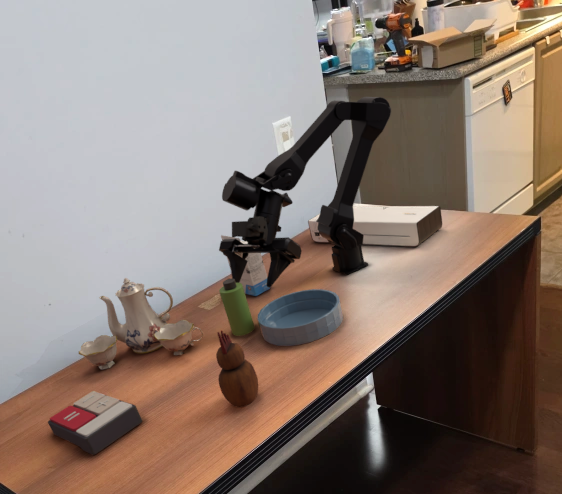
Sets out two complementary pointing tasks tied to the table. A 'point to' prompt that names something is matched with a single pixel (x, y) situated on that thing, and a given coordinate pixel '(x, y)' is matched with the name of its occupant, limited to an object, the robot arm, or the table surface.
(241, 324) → the green bottle
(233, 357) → the wooden figurine
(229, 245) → the robot arm
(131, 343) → the chinaware
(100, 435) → the calculator
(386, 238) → the laminator
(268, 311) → the basin
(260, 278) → the ink box
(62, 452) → the table surface
